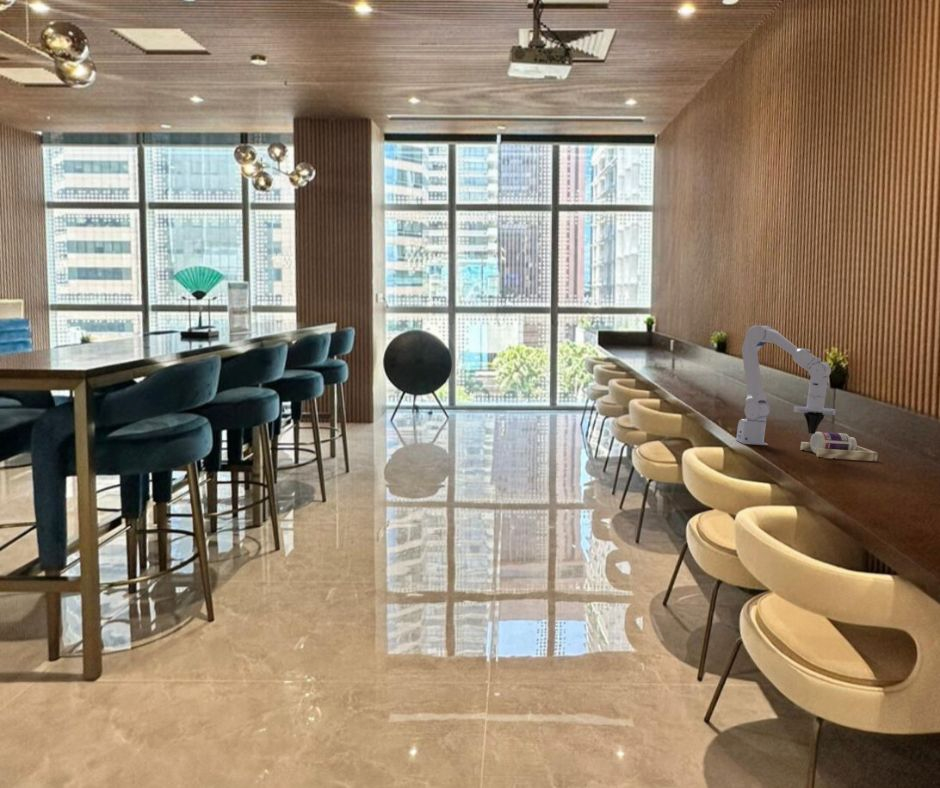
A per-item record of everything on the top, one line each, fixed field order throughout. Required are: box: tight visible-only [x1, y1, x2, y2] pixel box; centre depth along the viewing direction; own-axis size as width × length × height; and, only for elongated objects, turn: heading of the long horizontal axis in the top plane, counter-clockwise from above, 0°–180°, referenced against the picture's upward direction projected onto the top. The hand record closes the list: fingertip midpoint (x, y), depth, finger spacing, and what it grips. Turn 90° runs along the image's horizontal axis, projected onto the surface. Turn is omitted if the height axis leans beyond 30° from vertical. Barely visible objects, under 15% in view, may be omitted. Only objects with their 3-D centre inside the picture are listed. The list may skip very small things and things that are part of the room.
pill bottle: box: [809, 431, 858, 454], centre depth 283 cm, size 8×8×14 cm
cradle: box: [799, 441, 879, 462], centre depth 282 cm, size 22×13×3 cm, turn 94°
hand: (811, 433), depth 281 cm, fingers closed
